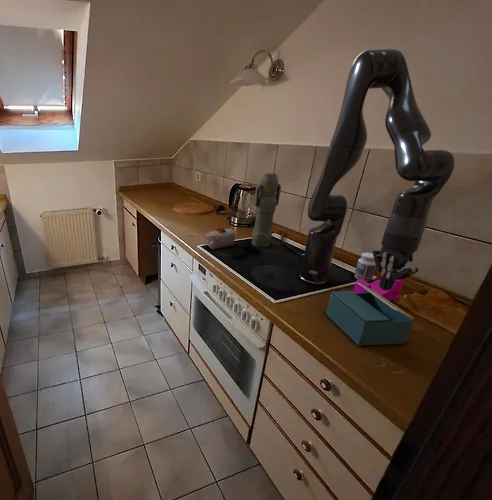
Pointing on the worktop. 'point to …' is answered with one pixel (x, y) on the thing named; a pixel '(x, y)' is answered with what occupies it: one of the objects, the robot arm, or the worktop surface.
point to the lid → (385, 301)
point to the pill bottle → (365, 267)
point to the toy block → (387, 294)
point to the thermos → (265, 209)
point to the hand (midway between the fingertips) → (384, 288)
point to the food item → (220, 238)
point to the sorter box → (367, 318)
